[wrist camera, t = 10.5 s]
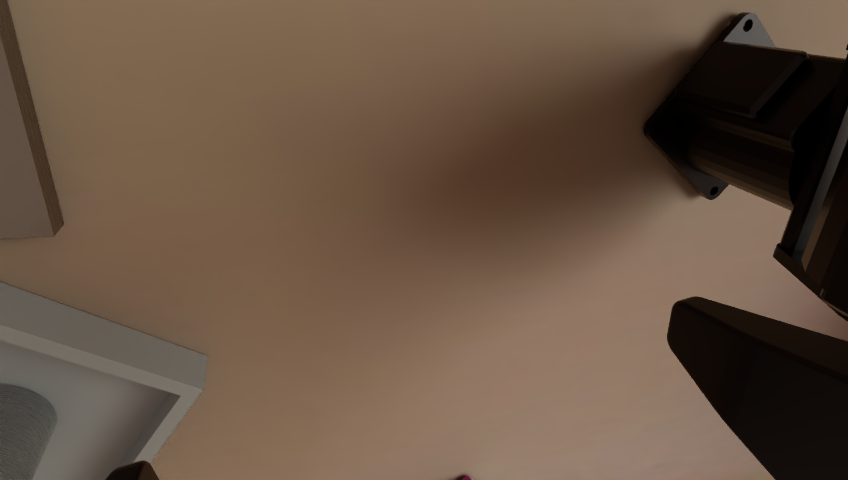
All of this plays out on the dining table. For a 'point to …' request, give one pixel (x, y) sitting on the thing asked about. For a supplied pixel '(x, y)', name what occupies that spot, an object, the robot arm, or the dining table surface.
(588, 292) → the dining table surface
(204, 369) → the tray
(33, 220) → the plate
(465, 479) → the candy bar box
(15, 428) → the orange capped tube
